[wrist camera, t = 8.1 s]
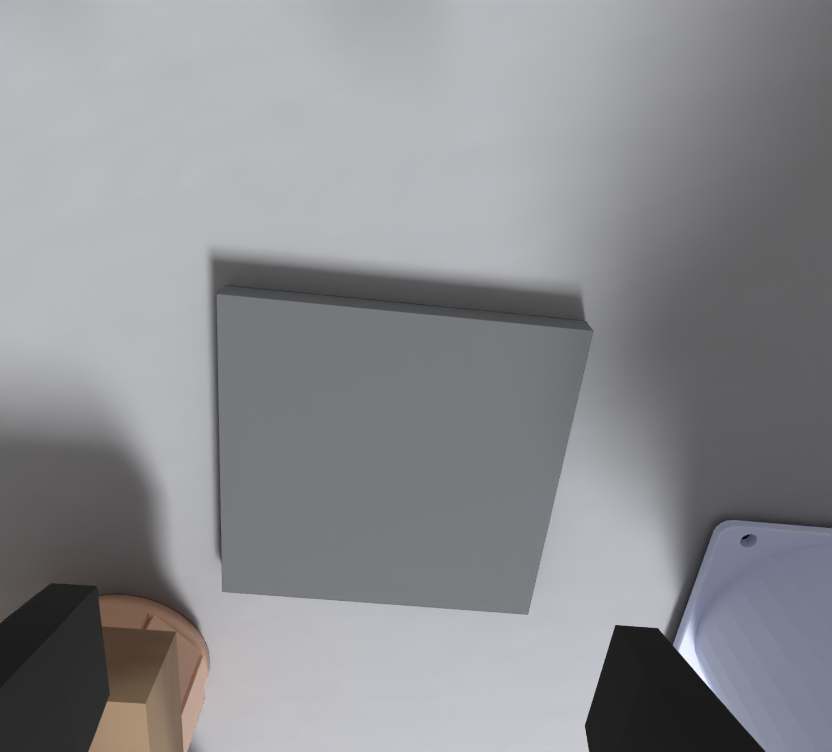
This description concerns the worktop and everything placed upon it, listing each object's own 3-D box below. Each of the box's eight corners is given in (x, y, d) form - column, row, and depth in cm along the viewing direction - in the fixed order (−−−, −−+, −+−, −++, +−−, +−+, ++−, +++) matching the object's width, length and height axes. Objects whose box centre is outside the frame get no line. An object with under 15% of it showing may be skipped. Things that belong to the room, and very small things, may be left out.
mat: (585, 321, 18) (593, 330, 17) (523, 597, 22) (528, 614, 21) (224, 285, 18) (216, 294, 17) (228, 574, 22) (222, 591, 21)
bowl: (208, 600, 22) (179, 673, 19) (211, 715, 24) (186, 795, 22) (39, 588, 22) (-14, 660, 19) (59, 705, 24) (14, 785, 21)
